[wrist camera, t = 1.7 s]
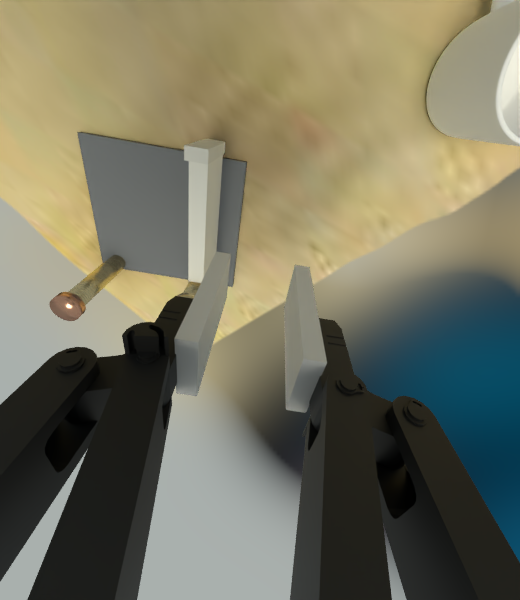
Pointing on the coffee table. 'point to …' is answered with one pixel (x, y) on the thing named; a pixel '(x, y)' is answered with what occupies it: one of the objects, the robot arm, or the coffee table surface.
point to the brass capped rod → (86, 290)
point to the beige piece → (203, 203)
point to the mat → (153, 204)
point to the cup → (480, 80)
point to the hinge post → (190, 290)
